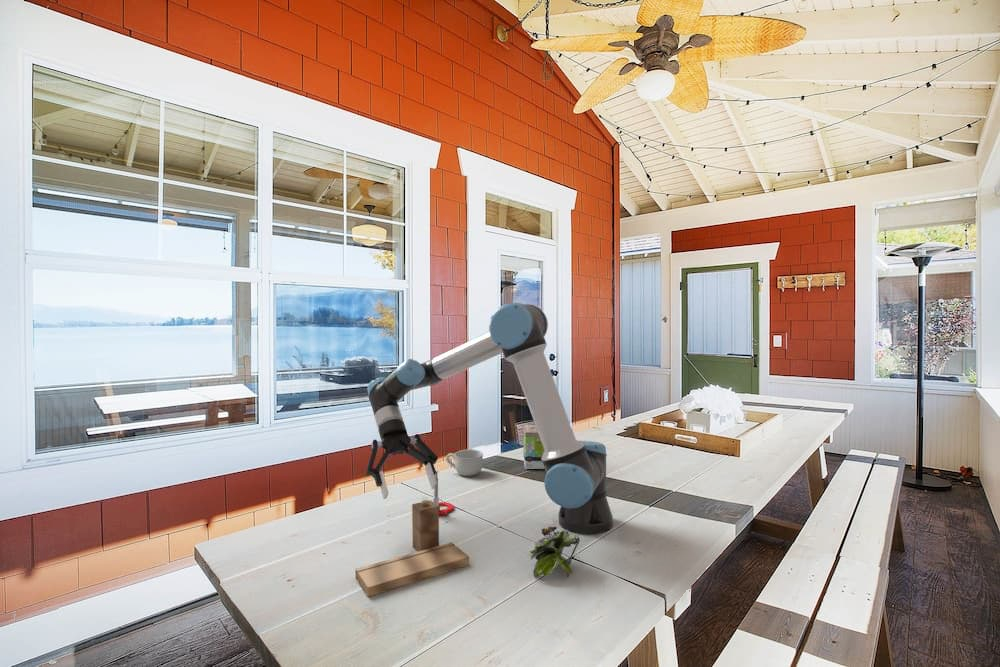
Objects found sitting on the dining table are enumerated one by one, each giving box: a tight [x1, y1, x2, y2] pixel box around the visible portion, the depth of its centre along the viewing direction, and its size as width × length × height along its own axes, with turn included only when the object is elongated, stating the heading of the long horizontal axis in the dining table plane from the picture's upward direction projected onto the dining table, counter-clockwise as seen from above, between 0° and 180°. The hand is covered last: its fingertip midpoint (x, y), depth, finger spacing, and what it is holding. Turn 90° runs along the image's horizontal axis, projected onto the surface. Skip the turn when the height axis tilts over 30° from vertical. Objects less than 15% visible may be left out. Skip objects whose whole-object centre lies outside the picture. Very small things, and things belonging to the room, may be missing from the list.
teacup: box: [445, 448, 484, 477], centre depth 183 cm, size 14×11×8 cm
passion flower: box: [528, 526, 581, 578], centre depth 110 cm, size 11×11×12 cm
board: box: [354, 542, 470, 598], centre depth 111 cm, size 24×9×2 cm, turn 123°
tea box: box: [523, 424, 544, 470], centre depth 194 cm, size 15×10×15 cm, turn 179°
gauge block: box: [411, 499, 440, 552], centre depth 122 cm, size 5×5×12 cm
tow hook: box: [432, 470, 455, 516], centre depth 148 cm, size 8×13×9 cm
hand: (411, 491), depth 128 cm, fingers open, 13 cm apart
